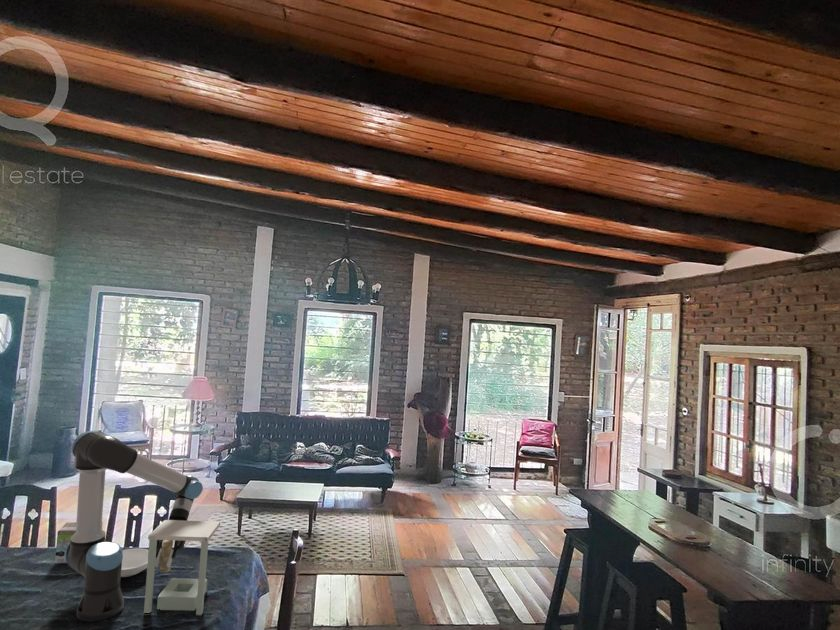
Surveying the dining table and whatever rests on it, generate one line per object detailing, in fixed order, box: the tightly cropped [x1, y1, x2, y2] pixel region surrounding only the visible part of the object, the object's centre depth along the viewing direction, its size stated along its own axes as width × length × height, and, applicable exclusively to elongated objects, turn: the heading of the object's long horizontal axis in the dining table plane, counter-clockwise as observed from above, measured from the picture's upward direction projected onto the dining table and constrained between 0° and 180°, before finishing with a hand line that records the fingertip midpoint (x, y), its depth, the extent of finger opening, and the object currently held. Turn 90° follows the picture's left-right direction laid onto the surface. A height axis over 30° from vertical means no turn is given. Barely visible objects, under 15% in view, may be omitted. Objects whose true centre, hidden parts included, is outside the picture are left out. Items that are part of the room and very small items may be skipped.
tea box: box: [54, 521, 103, 565], centre depth 230 cm, size 15×10×15 cm
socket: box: [143, 519, 221, 616], centre depth 202 cm, size 22×17×30 cm
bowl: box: [121, 547, 149, 578], centre depth 220 cm, size 20×20×6 cm
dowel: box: [159, 540, 174, 573], centre depth 214 cm, size 4×4×12 cm
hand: (162, 566), depth 211 cm, fingers closed on dowel, 4 cm apart
